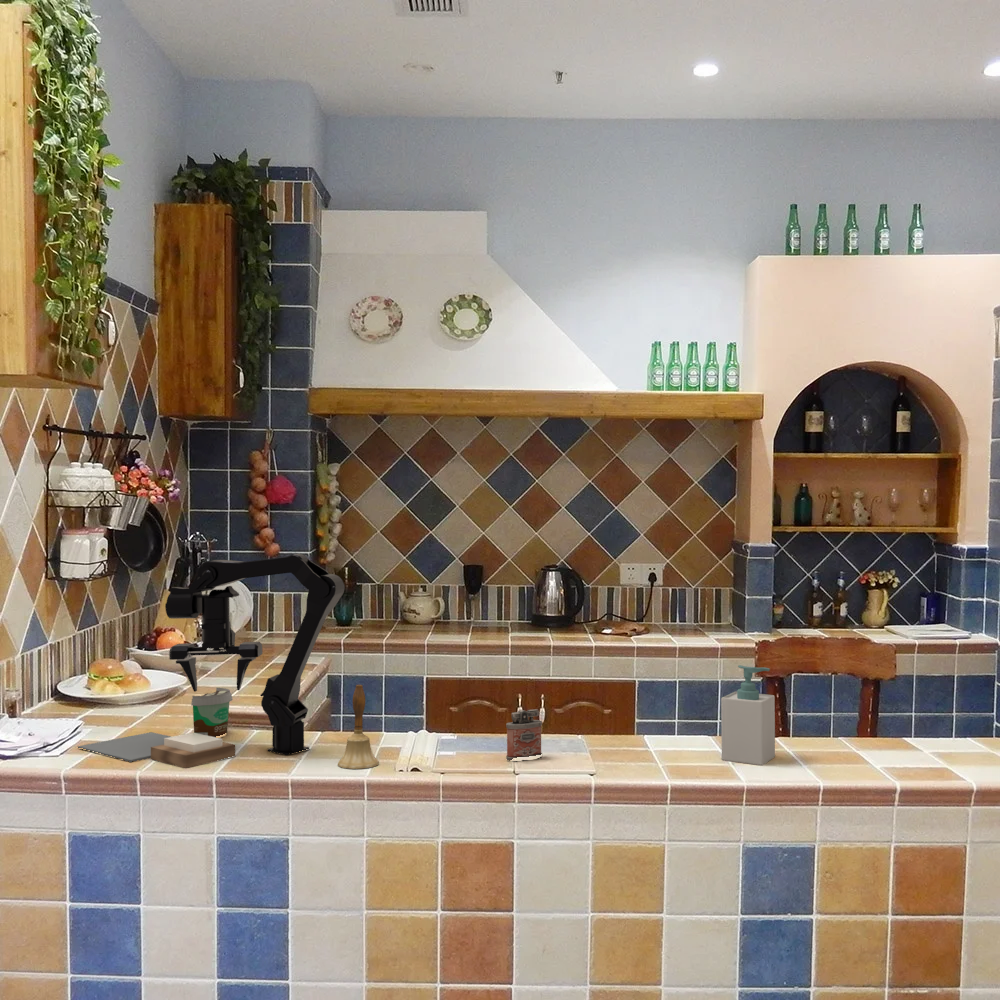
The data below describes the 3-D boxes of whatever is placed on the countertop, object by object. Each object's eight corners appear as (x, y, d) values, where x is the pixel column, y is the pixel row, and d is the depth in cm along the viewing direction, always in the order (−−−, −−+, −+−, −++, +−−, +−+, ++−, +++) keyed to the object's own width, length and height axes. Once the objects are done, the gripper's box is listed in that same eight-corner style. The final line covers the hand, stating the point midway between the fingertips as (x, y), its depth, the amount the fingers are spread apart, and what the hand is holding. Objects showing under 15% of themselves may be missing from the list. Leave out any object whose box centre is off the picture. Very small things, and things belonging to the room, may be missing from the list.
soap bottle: (763, 766, 199) (763, 670, 199) (721, 760, 204) (720, 667, 204) (776, 757, 206) (775, 665, 207) (734, 752, 211) (734, 662, 211)
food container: (216, 742, 220) (216, 697, 220) (190, 741, 221) (191, 696, 221) (241, 731, 232) (241, 688, 232) (217, 729, 233) (217, 687, 233)
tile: (222, 746, 205) (222, 738, 205) (193, 752, 200) (193, 744, 200) (192, 739, 211) (193, 732, 212) (164, 745, 206) (164, 738, 206)
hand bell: (339, 759, 204) (339, 682, 205) (380, 759, 205) (380, 681, 205) (335, 770, 196) (336, 688, 196) (378, 769, 197) (378, 688, 197)
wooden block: (235, 756, 207) (235, 744, 207) (185, 768, 197) (186, 755, 197) (199, 748, 214) (200, 736, 214) (150, 759, 204) (150, 747, 205)
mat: (204, 746, 216) (204, 743, 216) (130, 762, 202) (130, 759, 202) (151, 734, 228) (151, 732, 228) (77, 748, 214) (77, 746, 214)
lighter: (510, 762, 202) (510, 713, 202) (503, 759, 205) (503, 710, 205) (545, 758, 205) (545, 709, 206) (537, 754, 208) (537, 707, 209)
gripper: (266, 613, 223) (267, 683, 223) (182, 615, 222) (183, 685, 222) (256, 618, 212) (257, 692, 212) (168, 620, 211) (169, 694, 211)
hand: (217, 690), depth 214 cm, fingers open, 9 cm apart
